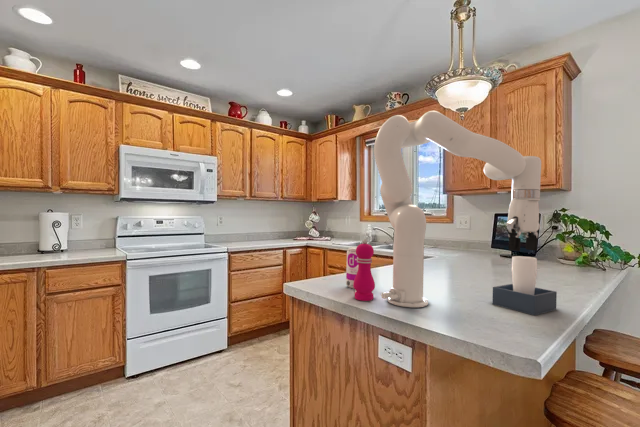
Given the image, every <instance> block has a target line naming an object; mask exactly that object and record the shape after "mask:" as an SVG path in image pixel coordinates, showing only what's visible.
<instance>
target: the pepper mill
mask: <svg viewBox="0 0 640 427" xmlns="http://www.w3.org/2000/svg"><path fill="white" fill-rule="evenodd" d="M361 242H362V243H360V244H358V245H357V246H356V247H357V248H356V254H357V256H358V258H357V259H358V261H357V262H358V272H357V275H356V277H355V279H354V283H353V287H354V288H353V290H355V291H354V299H355V300H357V301H362V302H363V301H364V302H370V301H372V300H374V293H373V292H374V290H375V289H376V282H375V279H374V277H373V274H372V268H371V264H372V263H373V258H372V257H373V256H374V252H375V250H374V247H373V246H372V244H369V243H368V239H367V238H363V240H362V241H361Z"/></svg>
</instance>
